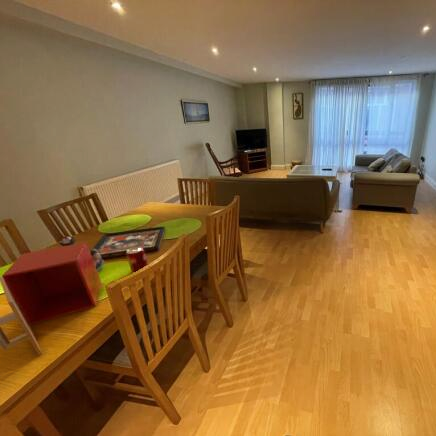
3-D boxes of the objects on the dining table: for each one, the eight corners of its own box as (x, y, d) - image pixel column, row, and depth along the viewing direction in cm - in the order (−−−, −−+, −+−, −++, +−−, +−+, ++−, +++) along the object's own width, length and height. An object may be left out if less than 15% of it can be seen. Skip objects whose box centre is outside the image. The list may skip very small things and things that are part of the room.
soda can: (134, 277, 113) (128, 255, 109) (130, 271, 118) (123, 250, 113) (151, 270, 118) (145, 249, 114) (146, 265, 123) (140, 244, 118)
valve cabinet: (95, 306, 96) (77, 260, 88) (29, 324, 87) (1, 275, 79) (102, 283, 109) (86, 242, 101) (44, 298, 100) (22, 253, 92)
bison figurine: (96, 277, 114) (89, 259, 110) (79, 279, 112) (71, 261, 108) (108, 263, 124) (102, 246, 120) (92, 265, 123) (85, 248, 119)
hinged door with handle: (14, 368, 72) (-22, 314, 63) (5, 336, 82) (-27, 286, 74) (42, 353, 76) (12, 301, 68) (29, 325, 87) (2, 276, 79)
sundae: (64, 258, 129) (53, 233, 123) (79, 253, 134) (70, 229, 128) (68, 262, 125) (57, 237, 120) (83, 257, 131) (74, 232, 125)
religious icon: (165, 226, 167) (164, 223, 166) (165, 249, 138) (164, 245, 137) (98, 238, 151) (97, 234, 150) (83, 266, 122) (81, 261, 121)
